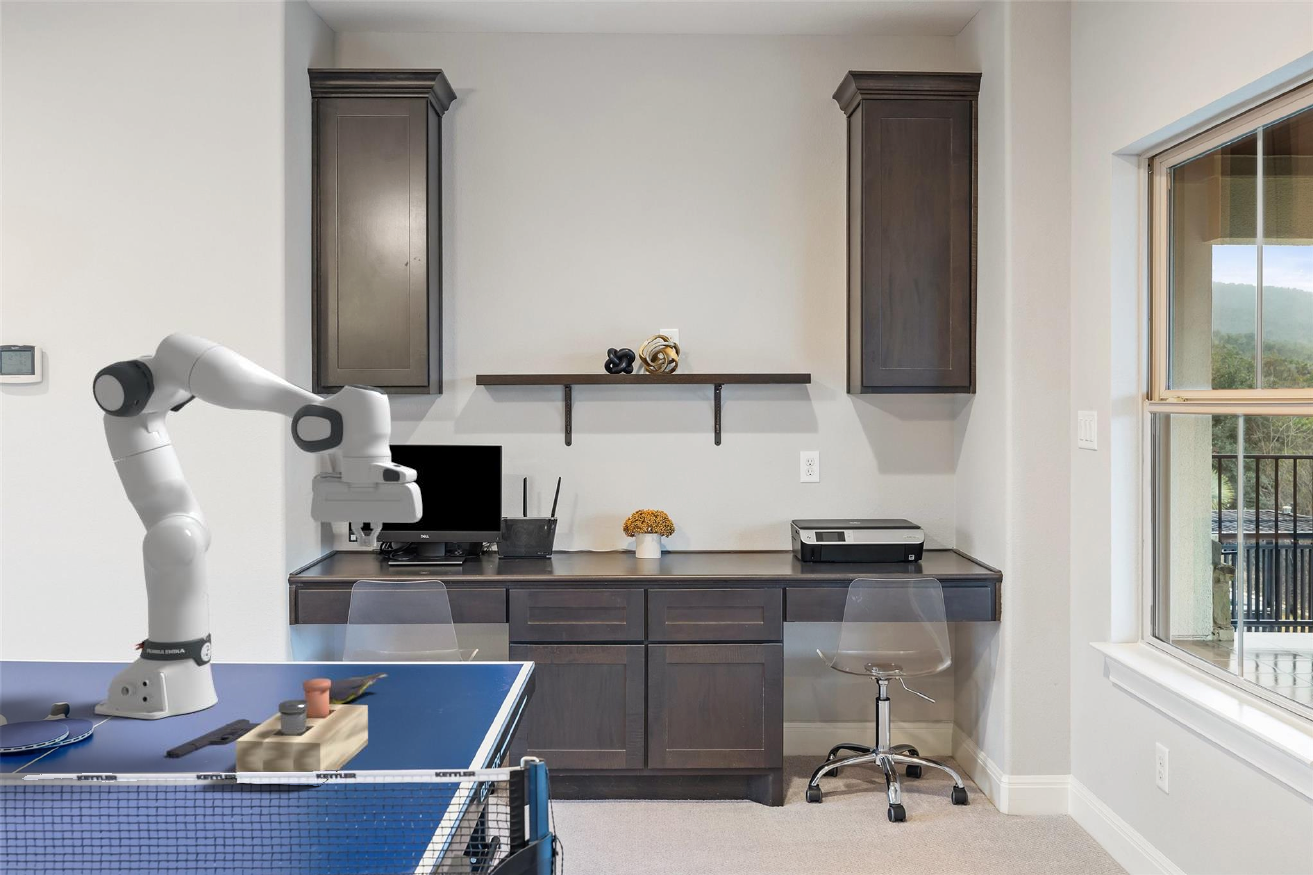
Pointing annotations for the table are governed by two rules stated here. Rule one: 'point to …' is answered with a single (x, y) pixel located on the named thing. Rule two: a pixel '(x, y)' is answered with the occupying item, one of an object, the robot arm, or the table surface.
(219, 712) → the table surface
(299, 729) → the metal plug
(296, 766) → the beech block
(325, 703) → the rust plug
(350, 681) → the bird model
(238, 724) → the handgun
